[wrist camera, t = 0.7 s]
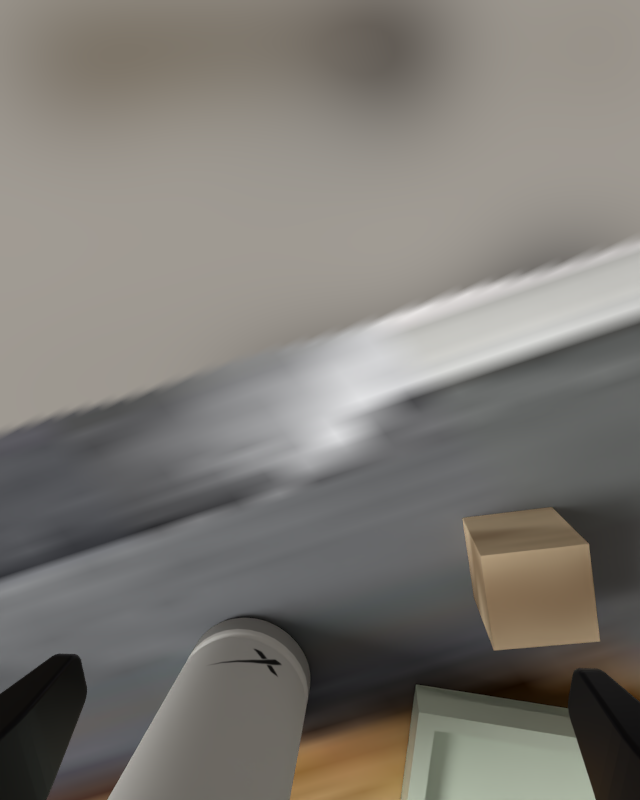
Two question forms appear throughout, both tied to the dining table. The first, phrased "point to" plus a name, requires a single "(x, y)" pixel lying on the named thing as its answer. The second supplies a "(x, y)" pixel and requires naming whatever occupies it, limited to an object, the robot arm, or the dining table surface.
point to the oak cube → (531, 579)
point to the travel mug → (226, 721)
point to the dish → (491, 750)
